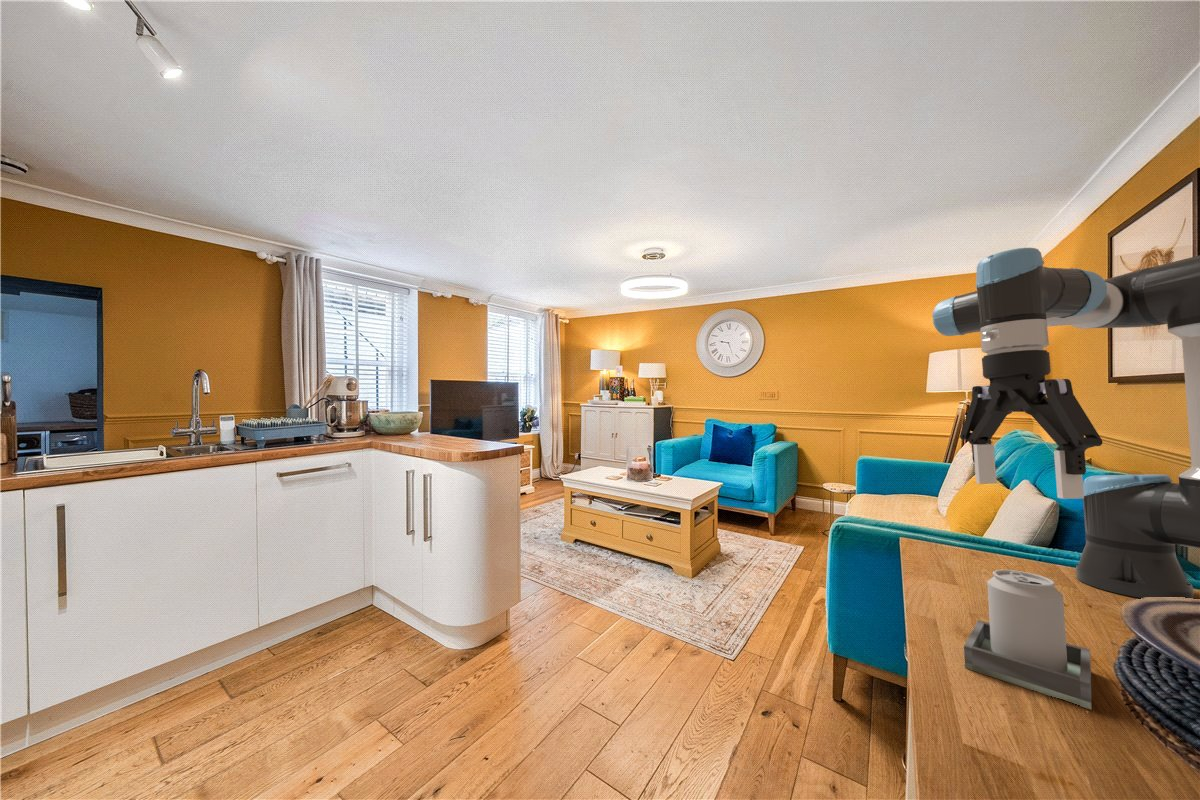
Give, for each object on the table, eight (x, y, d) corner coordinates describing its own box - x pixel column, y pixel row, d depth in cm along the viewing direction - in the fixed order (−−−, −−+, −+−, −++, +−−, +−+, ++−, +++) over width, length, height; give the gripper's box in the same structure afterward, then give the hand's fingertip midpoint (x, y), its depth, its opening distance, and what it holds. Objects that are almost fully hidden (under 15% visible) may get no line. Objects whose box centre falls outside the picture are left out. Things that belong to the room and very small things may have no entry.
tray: (979, 639, 67) (978, 620, 67) (1091, 671, 59) (1089, 649, 59) (965, 667, 60) (964, 645, 60) (1091, 709, 51) (1090, 683, 51)
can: (1019, 677, 56) (1013, 584, 57) (978, 648, 63) (973, 565, 64) (1085, 682, 55) (1079, 587, 55) (1036, 652, 62) (1030, 567, 63)
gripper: (930, 363, 79) (938, 478, 78) (1073, 337, 54) (1086, 507, 53) (973, 361, 79) (981, 477, 78) (1136, 335, 54) (1150, 506, 53)
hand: (1024, 490), depth 65 cm, fingers open, 13 cm apart
